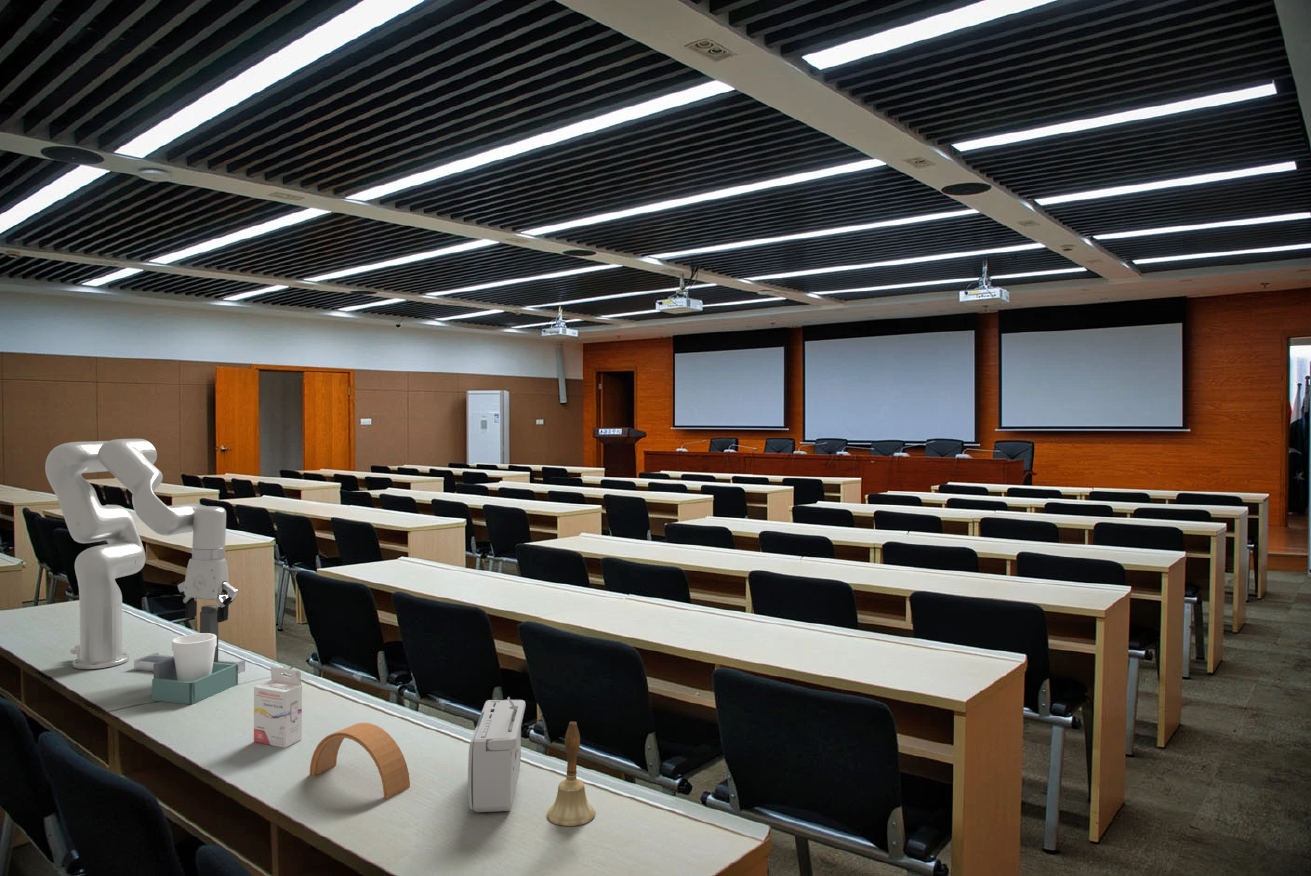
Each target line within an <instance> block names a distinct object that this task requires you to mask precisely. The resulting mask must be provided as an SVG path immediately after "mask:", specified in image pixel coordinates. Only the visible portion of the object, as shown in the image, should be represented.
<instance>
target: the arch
mask: <svg viewBox="0 0 1311 876" xmlns="http://www.w3.org/2000/svg"><path fill="white" fill-rule="evenodd" d="M344 739H348V740H352V741H354V742H355V743H357V744H359V745H360V746H361V747H362V748H363V749H364V750H365V751H366V752H367V753H368V755H369V756H370V757H371V758H372V760H373V762H374V763H375V766H376V768H377V770H378V773H379V776H380V779H381V784H382V788H383V789H382V791H383V799H386V800H388V799H390V798H391V797H393V796H396V795H397V794H399V793H401V792H403V791H405V790H407V789H409V788H410V787H411V780H410V773H409V769H408V764H407V762H406V758H405V756H404V754H403V752H402V750H401V748H400V747H399V745H398V743H397V742H396V740H394V738H393V737H392V735H390V734H389V733H388V732H387V731H386V730H385V729H384V728H382V727H380V726H378V725H376V724H374V723H373V724H372V723H370V722H357V723H355V724H352V725H350V726H348V727H345V728H343V729H340V730H337V731H336V732H333V733H331V734H328V735H326V736H325V737H324V738H323V739H321V740H320V742H318V744H317V746H316V747H315V750H314V751H313V754H312V756H311V761H310V765H309V776H312V777H315V776H316V775H319V774H321V773H323V772H325V771H328V770H330V769H332V768H334V767H336V766H337V761H338V760H337V759H338V754H339V750H340V748H341V745H342V743H343V742H344Z"/></svg>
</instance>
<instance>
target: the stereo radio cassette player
mask: <svg viewBox="0 0 1311 876" xmlns="http://www.w3.org/2000/svg"><path fill="white" fill-rule="evenodd" d="M525 710H526V701H525V700H523V699H511V697H510V696H508V697H507V699H503V700H501V699H500V700H499V699H487V700H486V701H485V703H484V705H483V708H482V710H481V713H480V715H479V719H478V721H477V724H476V726H475V729H474V732H473V734H472V736H471V740H470V743H469V748H468V760H467V761H468V763H467V765H468V766H467V792H468V793H467V794H468V805H469V808H470V810H472V811H474V812H475V813H478V814H479V813H486V812H487V813H491V812H509V811H511V809H512V806H513V800H514V795H515V791H516V786H517V783H518V782H517V781H518V777H519V772H520V767H521V757H522V756H521V755H522V752H521V751H522V750H521V749H522V747H521V745H522V741H521V740H522V723H523V719H524V714H525Z"/></svg>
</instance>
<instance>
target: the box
mask: <svg viewBox="0 0 1311 876" xmlns="http://www.w3.org/2000/svg"><path fill="white" fill-rule="evenodd" d="M151 684H152V685H151V688H152V689H151V691H152V692H151V693H152V695H151V700H152V701H156V702H164V703H165V702H166V703H176V704H183V705H194V704H197V703H198V702H201V701H203V700H205V699H209V698H210V697H213V696H214V695H217V694H219V693H221V692H224V691H226V690H228V689H230V688H232V687H235V686H237V685H239V673H238V664H228V663H217V662H213V668H212V674H210V675H207V676H205V677H202V678H200V679H198V680H195V681H193V682H188V681H178V680H168V679H158V678H154V677H153V678H152V679H151Z"/></svg>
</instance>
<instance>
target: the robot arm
mask: <svg viewBox="0 0 1311 876" xmlns="http://www.w3.org/2000/svg"><path fill="white" fill-rule="evenodd" d="M157 458H158V452H157V450H156V447H155V446H154V445H153V443H151V442H150V441H149V440H146V439H145V438H119V439H117V438H115V439H111V440H98V441H93V440H92V441H71V442H65V443H62V444H59V445H58V446H55V447H54V448H53V449H52V450H50V452H49V453H48V455H47V457H46V460H45V465H44V466H45V468H44V469H45V476H46V478H47V481H48V483H49V485H50V487H51V489H52V490H53V492H54V494H55V496H56V498H57V501H58V503H59V507H60V510H61V511H62V514H63V515H62V516H63V518H64V521H65V524H66V526H67V529H68V532H69V534H70V536H71V538H72V539H73V541H74V542H77V543H79V544H91V543H97V542H102V541H104V542H105V541H106V542H107V544H100V545H94V546H91V547H89V548H86V549H85V550H83V551H81V552H80V553H79V554H78V555H77V556H76V558H75V561H74V571H75V576H76V580H77V586H78V597H79V598H78V599H79V644H76V645H75V646H74V647H73V648H71V649H70V654H72V655H76V659H74V660H73V661H72V667H73V668H75V669H78V670H96V669H97V670H99V669H103V668H110V667H114V666H119V665H121V664H125V663H126V662H127V661H128V662H129V660H130V654H128V653H127V652H124V651H123V595H122V591H121V589H120V587H119V585H118V584H117V582H116V579H118V578H122V577H123V578H124V577H126V576H127V577H128V576H131V575H134V574H137V573H138V572H140V571H141V570H142V569H143V568H144V566H145V564H146V557H147V556H146V552H145V548H144V546H143V543H142V542H143V541H142V539H141V537H140V533H139V531H138V529H137V528H138V527H137V525H136V522H135V520H134V517H133V515H132V514H131V512H130V511H129V510H128V509H126V508H125V507H124V506H122V505H118V504H107V505H102V504H101V502H100V499H99V498H98V495H97V492H96V490H95V488H94V487H93V485H92V484H91V483H90V482H89V481H88V480H87V479H86V478H84V476H83V475H82V474H86V473H87V474H89V473H100V472H101V473H102V472H103V473H105V472H110V474H111V475H113V477H114V478H115V479H116V480H118V482H120V483H121V485H123V486H124V487H125V488H126V489H127V490H128V491H129V492H130V493H131V494H132V495H131V500H132V501H131V502H132V505H133V506H132V507H133V509H134V512H135V515H136V516H137V517H138V518H139V520H141V521H142V522H143V524H144V525H146V526H147V527H148V528H149V529H150V530H152V531H153V532H154V533H156V534H158V535H161V536H166V537H167V536H168V537H169V536H174V535H180V534H186V533H187V534H188V533H192V547H191V548H190V549H189V550H190V551H189V553H190V554H191V558H190V559H189V560H188V564H187V566H186V571H185V578H184V581H183V582H181V583H178V584H177V589H178V591H179V595H180V596H181V598H182V601H183V603H184V604H185V608H184V609H185V612H184V618H185V619H190V618H191V619H192V618H193V617H196V616H197V610H198V609H197V600H196V599H199V600H208V601H213V600H214V601H216V603H217V604H218V606H217V622H218V623H222V622H225V621H228V620H229V606H230V605H232V603H233V602H234V601H235V600H236V599H235V598H236V597H237V594H238V593H239V591H238V589H236V588H235V587H233V586H232V585H231V584H230V582H229V581H230V579H229V578H230V577H229V568H228V562H227V559H225V556H226V536H227V535H226V530H227V510H226V509H225V507H222V506H216V505H215V506H214V505H213V506H212V505H211V506H210V505H208V506H207V505H204V504H200V503H194V502H191V503H181V504H179V503H178V504H174V505H167V504H165V503H164V502H163V501H162V500H161V499H160V498H159V497H158V496H157V495H156V494H155V493H154V492H155V490H157V488H158V487H160V485H161V483H162V482H163V479H164V477H163V476H164V475H163V473H162V471H161V470H159V469H158V468H157V467H156V466H155V465H154V464H155V463H156V462H157Z"/></svg>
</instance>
